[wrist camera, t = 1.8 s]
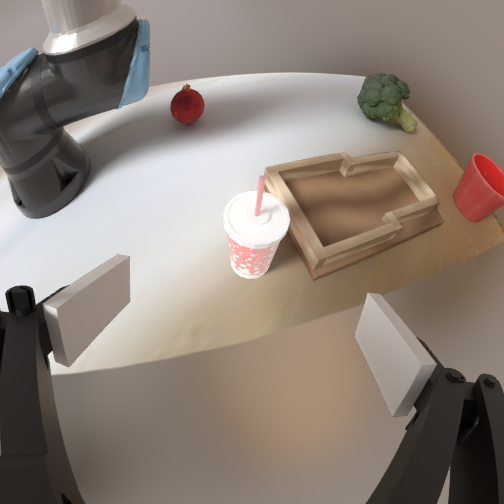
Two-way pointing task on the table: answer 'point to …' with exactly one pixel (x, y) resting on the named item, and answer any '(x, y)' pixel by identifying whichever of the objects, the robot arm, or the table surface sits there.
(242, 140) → the table surface
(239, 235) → the beverage cup
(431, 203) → the light brown wooden tray
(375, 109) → the vegetable
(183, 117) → the pomegranate
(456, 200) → the flower pot
